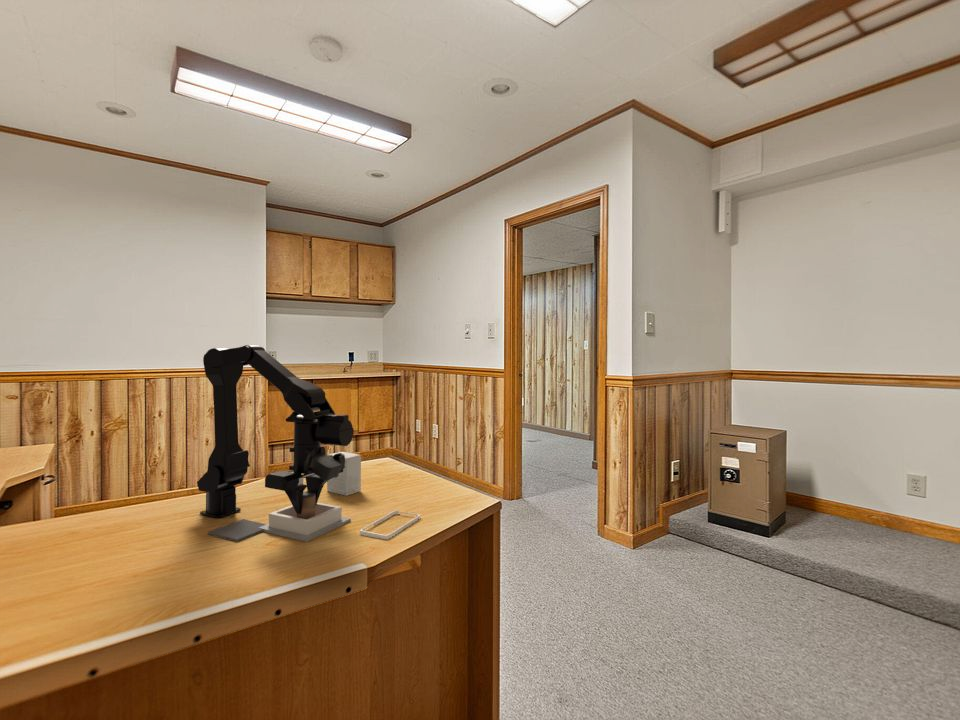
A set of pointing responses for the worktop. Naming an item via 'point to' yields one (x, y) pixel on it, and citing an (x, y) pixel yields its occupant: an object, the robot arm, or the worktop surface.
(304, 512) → the dowel
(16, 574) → the worktop surface
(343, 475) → the small box
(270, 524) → the grey square tray
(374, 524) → the phone case
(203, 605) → the worktop surface
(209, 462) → the robot arm
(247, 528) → the pad
